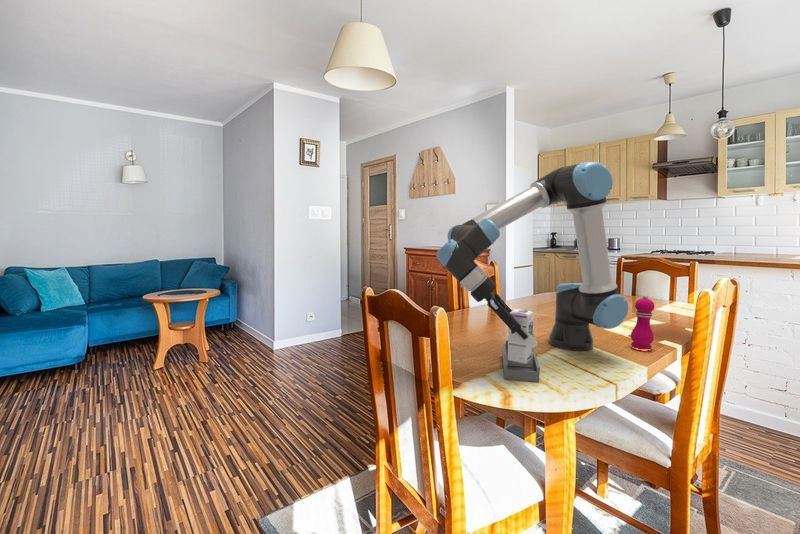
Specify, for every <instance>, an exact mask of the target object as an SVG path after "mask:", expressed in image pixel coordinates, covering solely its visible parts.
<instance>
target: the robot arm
mask: <svg viewBox="0 0 800 534" xmlns="http://www.w3.org/2000/svg"><path fill="white" fill-rule="evenodd" d="M613 183H614V182H613V176H612V174H611V172H610V170H609V168H607V166H605V165H604V164H603V163H601V162H598V161H585V162H581V163H577V164H571V165H567V166H562V167H558V168H557V169H554V170H553V171H551V172H549V173H547V174H545V175H544V176H542V177H540V178H538V179H537V180H535V181H533V182H531V183H530V185H529V188H526V189H525V190H523V191H521V192H519V193H517V194H516V195H514V196H512V197H510V198H508V199H506V200H504V201H503V202H501V203H499V204H497V205H495V206H493V207H491V208H490V209H488V210H485V211H484V212H482V213H480V214H479V215H476V216H475V217H473V218H471V219H470V220H467V221H466V222H464V223H462V224H456V225H453V226H452V227H450V229H448V232H447V242H446V243H444V245H443V246H441V247H440V249H438V250H437V252H436V253H435V256H436V259H438V261H439V262H440V263H441V265H442V266H443V268H445V269H446V270H447V271H448V272H449V274H451V276H453V277H454V278H455V279H456V280H457V282H458V283H459V284H460V288H462V289H463V288H464V289H465V290H466V291H467V292H470V296H471V297H472V298H473V299H474V300H475V301H476V302H477V303H480V302H483V300H486V302H487V304H486V305H487V306H488V307H489V309H490V310H492V312H494V313H495V314H496V315H497V316H498V317H499V318H500V320H501V321H502V322H503V323H504V324H505V325H506V326H507V328H508V329H509V328H510V329H511V331H512V332H511V333H512V334H514V333H516V335H517V336H518V337H519V338H520V339H521V340H522V341H523V342H524V343H525V344H526V345H527V346H528V347H529V348H530V349H532V348H533V347H534V348H535V347H536V346H537V345H538V344H539V342H538V341H537V340H536V339H535V337H536V335H535V334H534V333H533V337H532V336H531V335H530V334H529V333H528V332H527V331H526V330H525V329H524V328H523V327H522V326H521V325H520V324H519V323H518V322H517V321H516V320H515V319H514V318H513V316H512V315H511V314H510V312H511V311H513V310H512V309H511V308H510V307H509V305H508V304H506V302H505V301H504V300H503V299H502V297H501V296H500V295H499V294H498V293H494V292H493V291H494V290H495V289H496V288H497V284H496V283H495V281H493V280H492V279H491V277H487V276H488V274H487V273H486V272H485V270H483V268H482V267H481V266H480V265H478V264H477V263H476V262H475V260H477V259H478V258H479V257H480V256H481V255H482V254H483V253H484V252H485V251H487V249H489V248H490V247H491V246H492V245H494V244H495V242H496V241H498V239H499V238H500V236H501V231H500V230H501V229H503V228H504V227H506V226H508V225H510V224H512V223H513V222H515V221H517V220H519V219H521V218H523V217H525V216H526V215H528V214H530V213H532V212H535V211H536V210H537V209H539V208H541V209H542V208H543V209H544V208H547V207H549V206H551V205H554V204H558V203H563V202H565V204H566V209H567V211H569V212H570V213H571V214H572V216H573V217H572V218H573V222H574V223H573V225H574V230H575V236H576V237H575V238H576V244H577V250H578V252H577V253H578V258H579V265H580V274H581V279H582V282H569V283H568V282H566V283H565V282H564V283H563V282H562V283H559V284H558V285H557V286H556V293H555V296H556V299H555V317H554V318H555V319H554V324H553V327H552V329H551V331H550V333H549V336H548V338H549V339H548V344H550V345H551V346H554V347H556V348H559V349H563V350H569V351H570V350H571V351H589V350H592V349H593V348H594V338H593V334H592V331H591V329H590V328H591V327H590V324H591V325H594V326H595V327H597V328H602V329H606V330H607V329H609V330H610V329H611V330H612V329H615V328H617V327H619V326H620V325H621V324H622V323H623V322H624V320H625V319H626V318H627V315H628V313H629V303H628V300H627V298H625V297H624V296H623V295H621V294H619V288H618V284H617V283H616V282H614V281H612V274H611V267H610V259H609V252H608V244H607V238H606V230H605V229H606V227H605V221H604V214H603V207H604V206H605V205H606V204H607V197H608V196H609V195H610V193H611V190H612V189H613V185H614V184H613ZM514 325H515V326H514ZM513 326H514V327H513Z"/></svg>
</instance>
